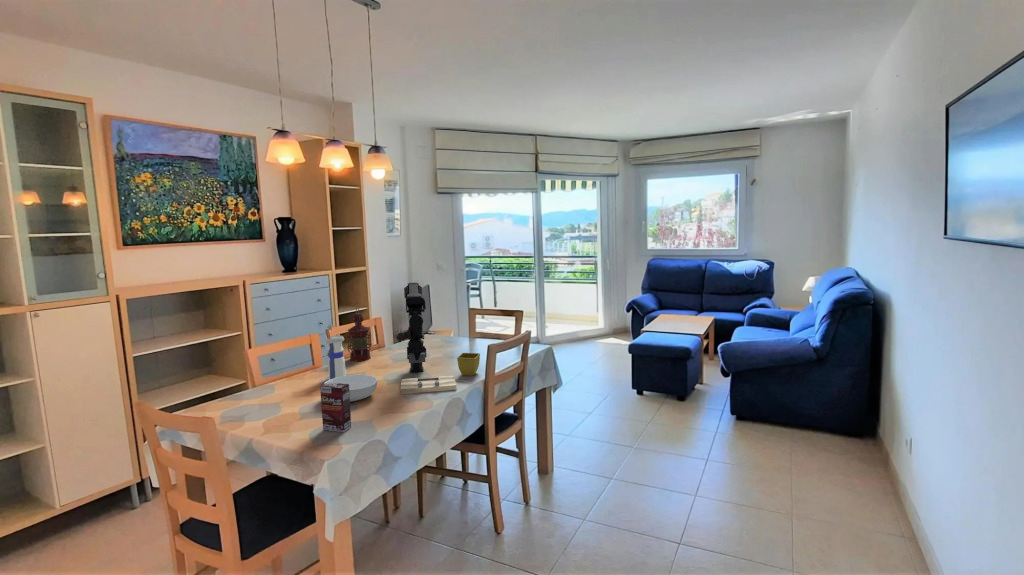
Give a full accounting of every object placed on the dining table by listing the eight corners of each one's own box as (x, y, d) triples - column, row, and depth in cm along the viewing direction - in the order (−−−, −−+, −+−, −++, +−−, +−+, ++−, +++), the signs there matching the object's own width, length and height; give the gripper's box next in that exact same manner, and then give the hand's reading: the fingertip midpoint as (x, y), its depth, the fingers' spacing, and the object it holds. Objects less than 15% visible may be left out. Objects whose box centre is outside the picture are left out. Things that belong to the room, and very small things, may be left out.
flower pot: (475, 377, 234) (475, 358, 233) (457, 376, 236) (456, 357, 234) (480, 371, 242) (480, 353, 241) (462, 371, 244) (462, 352, 243)
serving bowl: (357, 409, 196) (356, 392, 195) (313, 404, 204) (311, 387, 203) (388, 392, 216) (387, 376, 215) (347, 387, 223) (346, 372, 222)
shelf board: (401, 383, 227) (401, 375, 226) (454, 379, 231) (453, 371, 230) (400, 394, 213) (400, 385, 213) (456, 389, 217) (456, 381, 217)
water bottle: (323, 380, 233) (319, 326, 230) (335, 375, 241) (331, 322, 238) (338, 381, 231) (335, 327, 228) (350, 376, 239) (347, 323, 236)
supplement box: (322, 430, 177) (319, 386, 175) (330, 425, 182) (327, 381, 180) (344, 432, 175) (341, 387, 173) (352, 427, 179) (349, 383, 177)
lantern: (346, 357, 272) (342, 301, 268) (369, 354, 278) (366, 299, 274) (350, 363, 261) (346, 304, 257) (374, 359, 267) (371, 302, 263)
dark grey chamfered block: (409, 361, 225) (408, 353, 225) (425, 360, 226) (425, 352, 226) (408, 363, 222) (408, 355, 222) (425, 362, 223) (424, 354, 223)
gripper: (398, 320, 230) (399, 355, 232) (394, 329, 212) (396, 366, 214) (423, 319, 232) (424, 353, 234) (422, 327, 213) (423, 364, 215)
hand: (417, 359), depth 224 cm, fingers closed on dark grey chamfered block, 3 cm apart
